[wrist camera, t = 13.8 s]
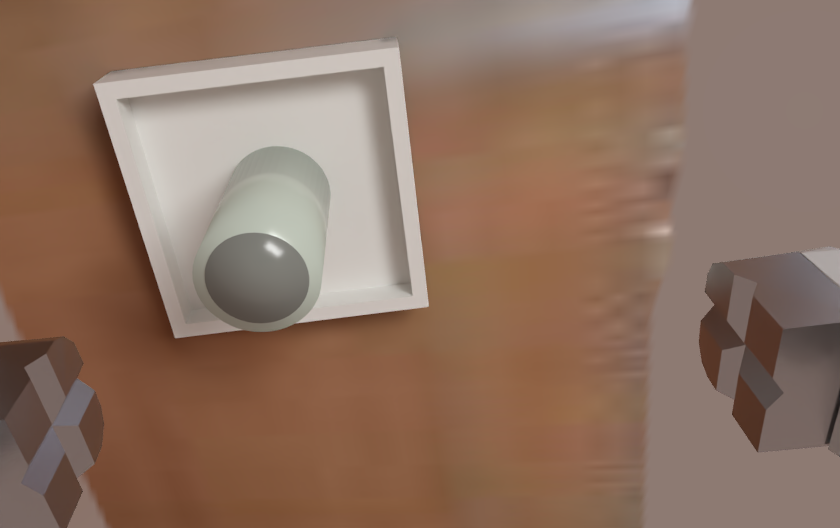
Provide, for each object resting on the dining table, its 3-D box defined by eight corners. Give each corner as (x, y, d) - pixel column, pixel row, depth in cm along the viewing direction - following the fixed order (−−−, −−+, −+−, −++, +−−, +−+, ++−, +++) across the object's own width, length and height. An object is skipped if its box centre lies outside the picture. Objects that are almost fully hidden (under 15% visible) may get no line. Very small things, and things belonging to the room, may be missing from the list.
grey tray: (110, 71, 35) (93, 84, 32) (396, 36, 35) (398, 47, 33) (185, 314, 41) (175, 338, 39) (425, 284, 41) (428, 306, 39)
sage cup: (218, 153, 36) (176, 231, 28) (321, 139, 36) (308, 214, 28) (242, 244, 38) (209, 340, 30) (338, 232, 38) (331, 324, 30)
